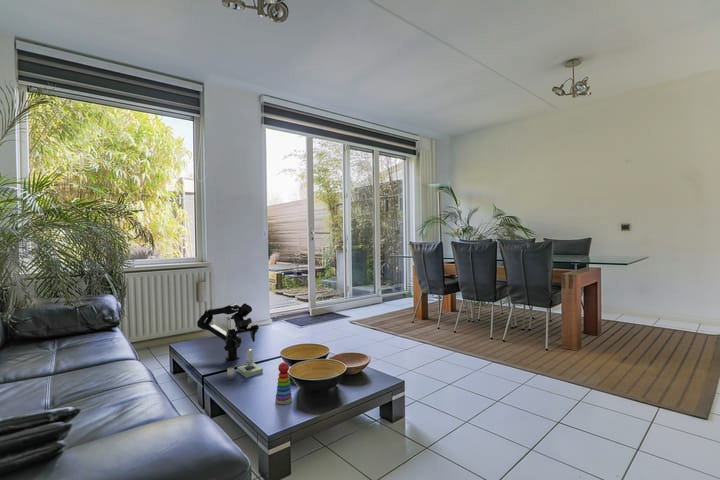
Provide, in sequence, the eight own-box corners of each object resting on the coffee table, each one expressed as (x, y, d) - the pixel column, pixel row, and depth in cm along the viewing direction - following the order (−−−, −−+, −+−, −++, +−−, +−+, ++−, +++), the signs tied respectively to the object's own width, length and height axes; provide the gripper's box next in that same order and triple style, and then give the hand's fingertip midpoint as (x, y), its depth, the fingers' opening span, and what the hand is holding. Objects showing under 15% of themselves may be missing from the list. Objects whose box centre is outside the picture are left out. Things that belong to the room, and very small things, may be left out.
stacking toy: (293, 403, 174) (293, 364, 173) (276, 406, 171) (276, 367, 170) (290, 396, 181) (290, 359, 180) (274, 399, 178) (273, 361, 177)
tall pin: (247, 371, 212) (246, 349, 212) (253, 370, 213) (253, 348, 212) (246, 373, 209) (246, 351, 208) (252, 373, 210) (252, 350, 209)
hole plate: (237, 371, 212) (237, 367, 212) (253, 366, 219) (253, 362, 219) (246, 377, 203) (246, 373, 203) (262, 372, 210) (262, 368, 210)
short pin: (226, 379, 202) (226, 368, 201) (232, 377, 204) (232, 366, 204) (229, 381, 199) (228, 370, 199) (235, 379, 201) (235, 368, 201)
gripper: (227, 316, 218) (234, 339, 210) (257, 311, 230) (265, 333, 221) (223, 326, 224) (230, 349, 216) (252, 321, 236) (259, 342, 228)
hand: (246, 343), depth 220 cm, fingers open, 9 cm apart
